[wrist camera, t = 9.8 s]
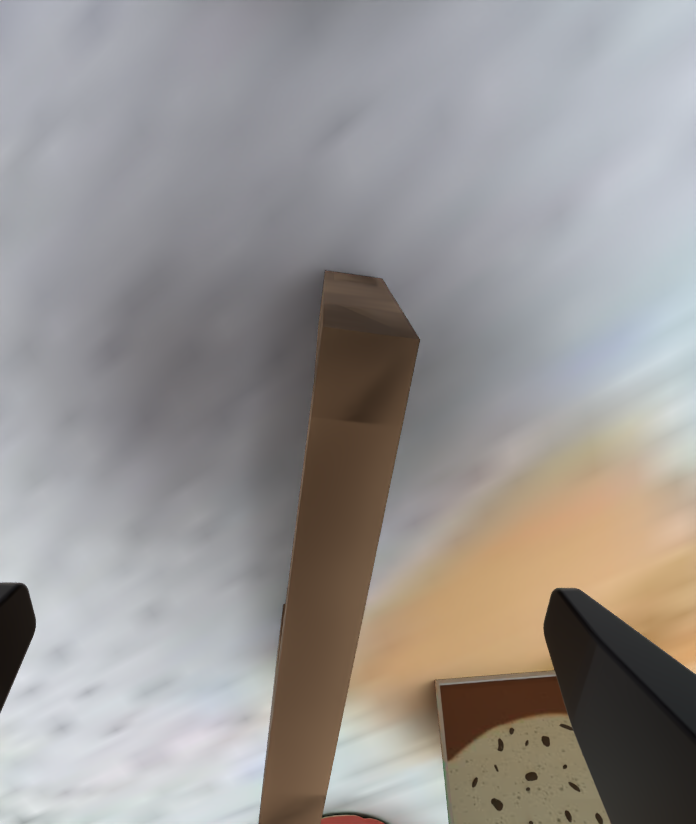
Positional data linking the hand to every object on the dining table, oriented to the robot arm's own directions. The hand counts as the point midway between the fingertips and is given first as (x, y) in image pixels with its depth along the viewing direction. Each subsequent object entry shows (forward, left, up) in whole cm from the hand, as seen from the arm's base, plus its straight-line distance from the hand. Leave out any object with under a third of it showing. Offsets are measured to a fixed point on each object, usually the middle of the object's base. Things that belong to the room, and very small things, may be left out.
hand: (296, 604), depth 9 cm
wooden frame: (+4, +2, -11) cm, 12 cm away
